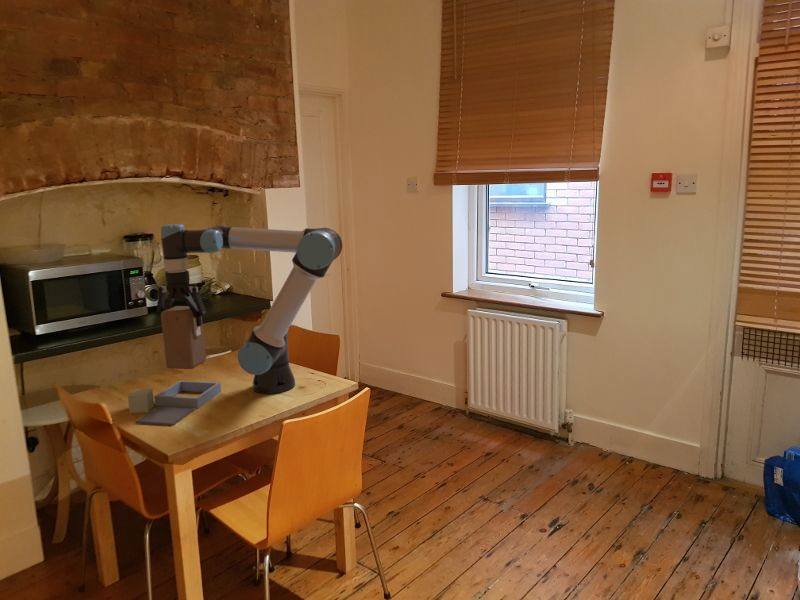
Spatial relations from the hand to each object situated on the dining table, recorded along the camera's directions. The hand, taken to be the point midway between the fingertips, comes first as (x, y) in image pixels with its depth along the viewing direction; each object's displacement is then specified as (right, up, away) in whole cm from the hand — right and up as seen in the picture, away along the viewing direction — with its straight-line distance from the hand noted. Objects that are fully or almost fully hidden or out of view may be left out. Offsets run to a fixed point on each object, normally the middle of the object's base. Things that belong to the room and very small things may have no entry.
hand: (183, 335), depth 210 cm
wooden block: (0, -11, +2) cm, 11 cm away
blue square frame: (0, -23, +5) cm, 23 cm away
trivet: (-2, -26, -11) cm, 28 cm away
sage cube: (-13, -25, -4) cm, 28 cm away
